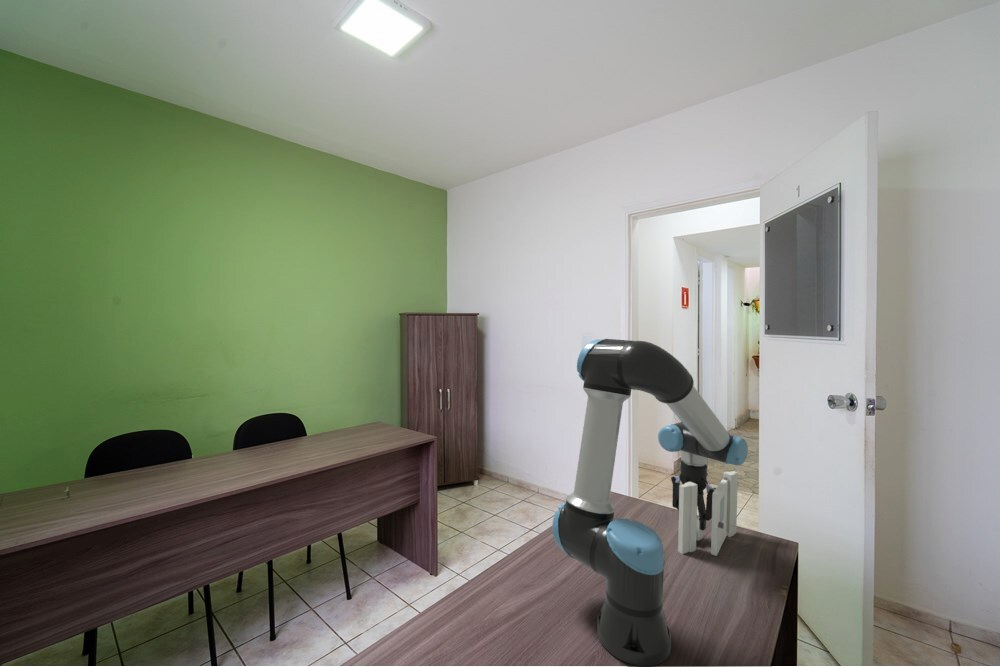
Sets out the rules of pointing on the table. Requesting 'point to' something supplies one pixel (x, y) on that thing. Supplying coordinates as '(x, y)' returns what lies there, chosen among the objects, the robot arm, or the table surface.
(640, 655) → the robot arm
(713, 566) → the table surface
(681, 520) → the door frame
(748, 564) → the table surface
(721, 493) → the door
